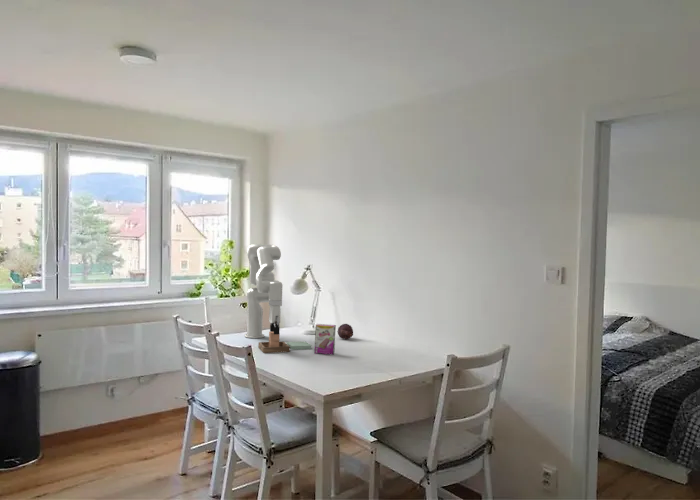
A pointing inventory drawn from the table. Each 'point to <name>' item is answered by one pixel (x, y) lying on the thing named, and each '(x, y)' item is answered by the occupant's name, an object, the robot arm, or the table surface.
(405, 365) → the table surface
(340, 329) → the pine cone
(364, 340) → the table surface
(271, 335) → the wooden block
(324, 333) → the candy bar box
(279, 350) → the brown wooden tray
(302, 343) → the green board
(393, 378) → the table surface
